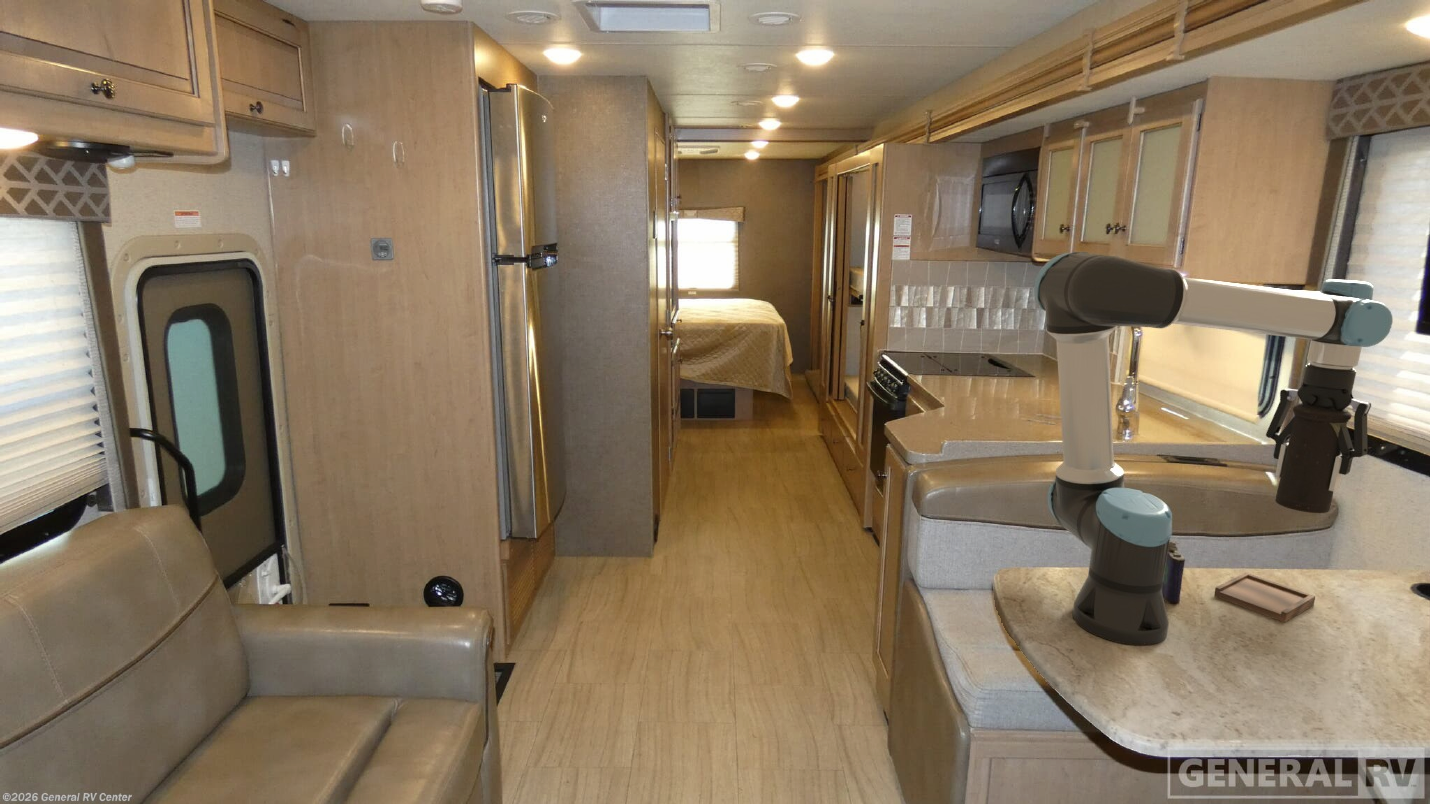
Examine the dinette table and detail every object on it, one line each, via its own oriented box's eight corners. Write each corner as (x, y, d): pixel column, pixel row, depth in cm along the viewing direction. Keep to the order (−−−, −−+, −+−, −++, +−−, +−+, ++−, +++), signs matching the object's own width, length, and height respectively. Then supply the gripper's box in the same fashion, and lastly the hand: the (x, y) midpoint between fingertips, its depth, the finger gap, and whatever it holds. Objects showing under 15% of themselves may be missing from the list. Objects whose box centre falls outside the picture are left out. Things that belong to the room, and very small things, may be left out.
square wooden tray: (1284, 622, 144) (1286, 613, 144) (1214, 595, 154) (1215, 587, 153) (1313, 605, 150) (1315, 596, 150) (1244, 580, 160) (1245, 572, 160)
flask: (1146, 582, 159) (1153, 531, 157) (1161, 583, 159) (1169, 532, 156) (1167, 604, 150) (1176, 551, 148) (1184, 605, 150) (1193, 552, 148)
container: (1340, 516, 149) (1363, 412, 144) (1286, 512, 151) (1308, 408, 146) (1315, 500, 157) (1337, 401, 153) (1264, 496, 159) (1284, 398, 154)
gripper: (1410, 373, 141) (1381, 496, 147) (1275, 354, 158) (1254, 464, 163) (1395, 377, 137) (1366, 503, 142) (1258, 357, 154) (1237, 470, 159)
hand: (1306, 482), depth 153 cm, fingers closed on container, 8 cm apart
